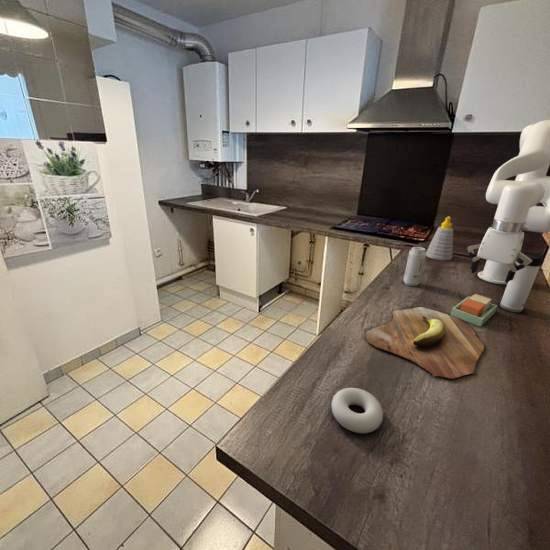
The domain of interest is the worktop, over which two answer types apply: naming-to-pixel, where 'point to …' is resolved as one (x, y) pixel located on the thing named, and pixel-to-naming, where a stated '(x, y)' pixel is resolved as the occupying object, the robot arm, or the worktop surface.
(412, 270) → the energy drink can
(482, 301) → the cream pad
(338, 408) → the donut
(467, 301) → the orange block
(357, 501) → the worktop surface
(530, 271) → the travel mug
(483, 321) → the tray
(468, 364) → the cutting board
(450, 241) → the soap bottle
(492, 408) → the worktop surface
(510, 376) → the worktop surface
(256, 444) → the worktop surface
